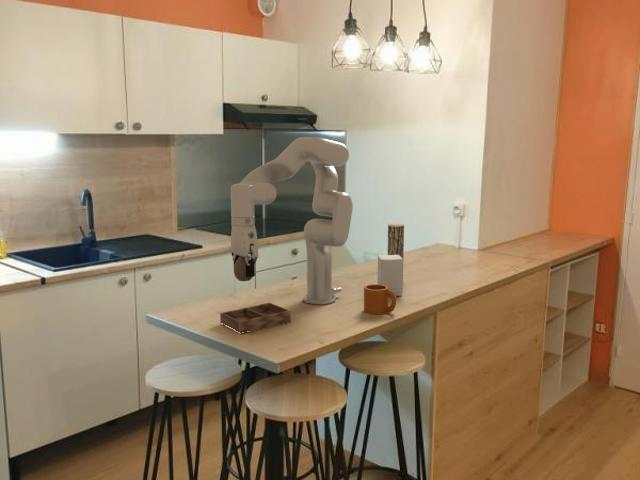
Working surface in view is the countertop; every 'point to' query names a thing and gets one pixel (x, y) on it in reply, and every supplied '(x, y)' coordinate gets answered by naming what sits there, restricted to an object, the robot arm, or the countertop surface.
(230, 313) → the divided wooden tray
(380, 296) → the mug
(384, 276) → the supplement box
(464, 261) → the countertop surface
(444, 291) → the countertop surface
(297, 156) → the robot arm
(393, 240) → the bark covered log
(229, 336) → the countertop surface
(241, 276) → the vase
